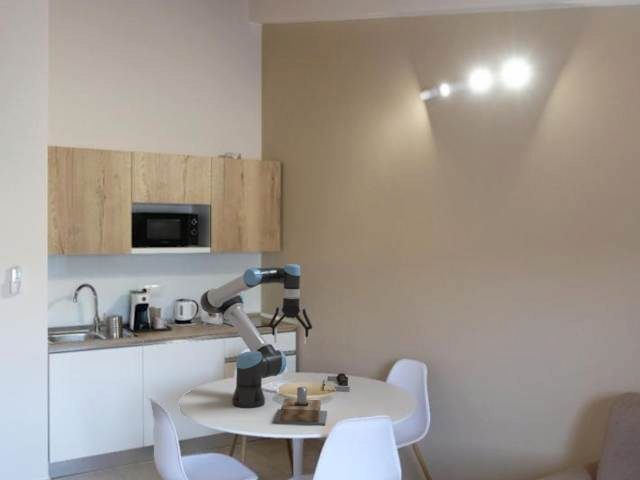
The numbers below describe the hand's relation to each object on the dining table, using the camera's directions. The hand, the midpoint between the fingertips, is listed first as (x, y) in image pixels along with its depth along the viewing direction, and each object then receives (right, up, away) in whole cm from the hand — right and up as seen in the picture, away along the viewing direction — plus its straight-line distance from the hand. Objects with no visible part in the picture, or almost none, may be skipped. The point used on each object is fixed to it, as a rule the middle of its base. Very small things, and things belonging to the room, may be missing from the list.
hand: (289, 343), depth 314 cm
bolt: (+26, -28, +37) cm, 53 cm away
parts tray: (+23, -28, +37) cm, 52 cm away
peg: (+6, -28, -21) cm, 36 cm away
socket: (+6, -29, -21) cm, 36 cm away
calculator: (-7, -28, +31) cm, 42 cm away
